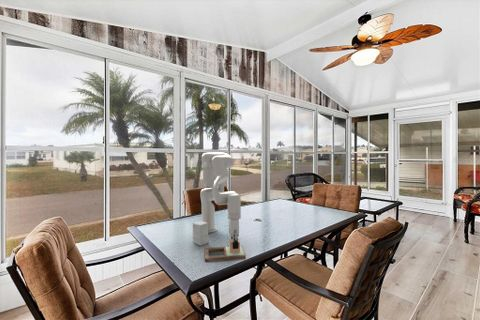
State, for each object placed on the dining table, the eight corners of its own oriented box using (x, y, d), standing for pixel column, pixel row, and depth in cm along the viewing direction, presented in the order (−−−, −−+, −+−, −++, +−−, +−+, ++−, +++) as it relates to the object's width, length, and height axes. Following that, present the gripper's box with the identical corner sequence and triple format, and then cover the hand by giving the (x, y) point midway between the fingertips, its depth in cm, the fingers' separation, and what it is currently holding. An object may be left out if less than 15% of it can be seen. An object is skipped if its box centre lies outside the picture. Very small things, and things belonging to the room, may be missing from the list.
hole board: (205, 250, 131) (205, 247, 131) (241, 247, 134) (241, 244, 134) (204, 261, 117) (204, 258, 117) (245, 258, 120) (245, 255, 120)
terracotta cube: (229, 248, 129) (229, 239, 129) (238, 247, 130) (238, 238, 130) (230, 252, 123) (230, 242, 123) (239, 251, 124) (239, 242, 124)
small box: (208, 243, 142) (208, 222, 142) (200, 246, 137) (200, 225, 137) (200, 239, 148) (200, 220, 147) (192, 242, 143) (192, 222, 143)
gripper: (226, 211, 134) (226, 239, 134) (229, 220, 117) (229, 252, 117) (238, 211, 135) (239, 239, 135) (243, 219, 118) (243, 251, 118)
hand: (234, 245), depth 126 cm, fingers open, 9 cm apart
